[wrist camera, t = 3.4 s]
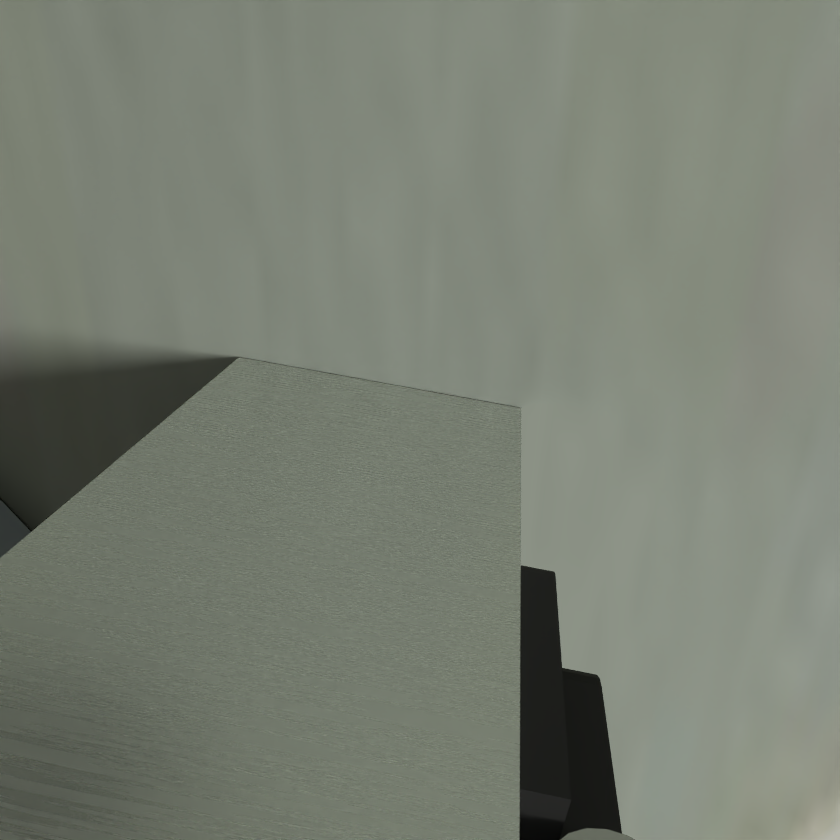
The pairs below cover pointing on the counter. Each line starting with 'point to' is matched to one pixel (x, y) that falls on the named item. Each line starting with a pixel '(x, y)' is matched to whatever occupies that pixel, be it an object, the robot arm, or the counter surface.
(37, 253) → the counter surface
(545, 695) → the robot arm
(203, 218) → the counter surface
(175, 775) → the block
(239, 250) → the counter surface
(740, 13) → the counter surface
